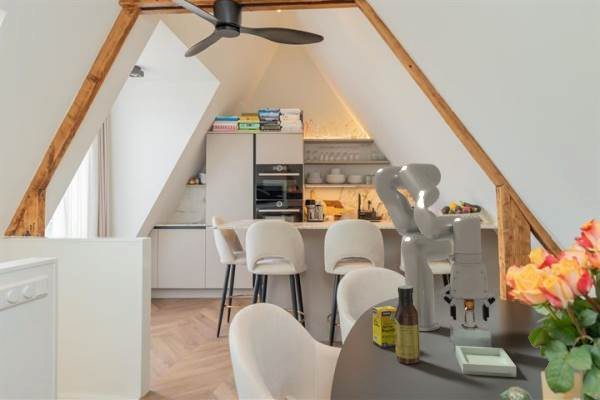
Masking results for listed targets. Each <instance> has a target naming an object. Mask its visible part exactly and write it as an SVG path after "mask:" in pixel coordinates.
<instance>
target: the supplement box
mask: <svg viewBox="0 0 600 400" xmlns="http://www.w3.org/2000/svg"><path fill="white" fill-rule="evenodd" d="M396 310H397V308H395V307H393V306H391V305H388V306H377V307H376V306H374V307H372V344H375V345H376V346H377V347H378V348H380V349H388V348H396V342H395V313H396Z"/></svg>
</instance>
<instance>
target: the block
mask: <svg viewBox="0 0 600 400" xmlns="http://www.w3.org/2000/svg"><path fill="white" fill-rule="evenodd" d="M449 328H450V329H449V331H450V333H449V335H450V344H451V346H452V348H453V351H456V346H469V347H490V348H492V330H491V329H490V327H489V326H488V324H487V323H486V322H485V323H484V322H475V328H464V321H463V322H462V321H461V322H460V321H450V322H449Z"/></svg>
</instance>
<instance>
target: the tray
mask: <svg viewBox="0 0 600 400" xmlns="http://www.w3.org/2000/svg"><path fill="white" fill-rule="evenodd" d="M455 357H456V359H457V361H458V364H459V367H460V369H461V372H462V374H463V375H472V376H473V375H475V376H476V375H477V376H489V377H491V376H492V377H504V378H505V377H507V378H508V377H509V378H517V366H516V364H515V363H514V362H513V360H512V359H511V357H510V356H509V355H508V354H507V352H506V351H505V350H504V348H503V347H491V348H490V347H469V346H456V350H455Z"/></svg>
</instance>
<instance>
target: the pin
mask: <svg viewBox="0 0 600 400" xmlns="http://www.w3.org/2000/svg"><path fill="white" fill-rule="evenodd" d="M462 300H463V322H464V328H475V323H476V312H475V311H476V309H475V308H476V307H475V306H476V305H475V299H462Z"/></svg>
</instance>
